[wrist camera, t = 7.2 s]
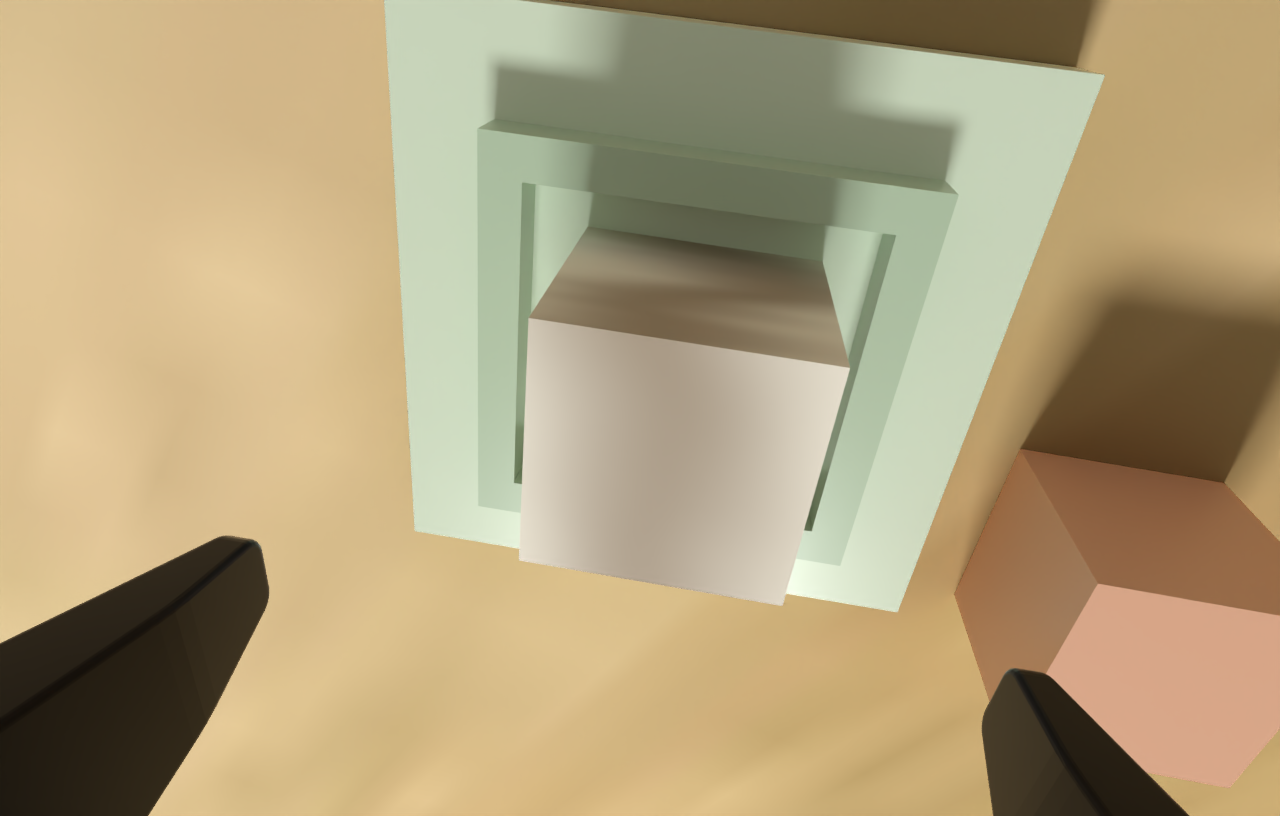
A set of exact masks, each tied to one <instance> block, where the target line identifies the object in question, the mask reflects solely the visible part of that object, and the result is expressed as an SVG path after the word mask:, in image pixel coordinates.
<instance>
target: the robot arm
mask: <svg viewBox="0 0 1280 816" xmlns="http://www.w3.org/2000/svg"><path fill="white" fill-rule="evenodd" d="M268 598H269V585H268V580H267V575H266V569H265V564H264V559H263V554H262V549H261V546H260V545H259V544H258V542H257V541H254V540H252V539H246V538H240V537H234V536H221V537H218V538H216V539H214V540H211V541H209V542H207V543H205V544H203V545H201V546H199V547H197V548H195V549H193V550H191V551H189V552H187V553H185V554H183V555H181V556H179V557H177V558H174V559H172V560H170V561H168V562H166V563H164V564H162V565H160V566H158V567H156V568H154V569H152V570H150V571H148V572H146V573H144V574H142V575H140V576H138V577H135V578H133V579H131V580H129V581H127V582H125V583H123V584H121V585H119V586H117V587H115V588H113V589H111V590H109V591H107V592H105V593H103V594H101V595H98V596H96V597H94V598H92V599H90V600H88V601H86V602H84V603H82V604H80V605H78V606H76V607H74V608H72V609H70V610H68V611H66V612H64V613H62V614H59V615H57V616H55V617H53V618H51V619H49V620H47V621H45V622H43V623H41V624H39V625H37V626H35V627H33V628H31V629H29V630H27V631H25V632H22V633H20V634H18V635H16V636H14V637H12V638H10V639H8V640H6V641H4V642H2V643H0V816H148V815H149V814H150V812H151V811H152V809H153V807H154V806H155V804H156V803H157V801H158V800H159V798H160V796H161V795H162V793H163V792H164V790H165V789H166V787H167V786H168V784H169V782H170V781H171V779H172V778H173V776H174V775H175V773H176V772H177V770H178V768H179V767H180V765H181V764H182V762H183V761H184V759H185V757H186V756H187V754H188V753H189V751H190V750H191V748H192V747H193V745H194V743H195V742H196V740H197V739H198V737H199V735H200V734H201V732H202V730H203V729H204V727H205V725H206V724H207V722H208V720H209V718H210V717H211V715H212V713H213V711H214V709H215V707H216V706H217V704H218V702H219V700H220V698H221V696H222V694H223V692H224V690H225V688H226V686H227V684H228V682H229V680H230V678H231V676H232V674H233V672H234V670H235V668H236V666H237V664H238V662H239V660H240V658H241V656H242V654H243V652H244V650H245V648H246V646H247V644H248V642H249V640H250V639H251V637H252V635H253V633H254V631H255V629H256V627H257V625H258V623H259V621H260V619H261V617H262V615H263V613H264V611H265V609H266V606H267V603H268ZM982 737H983V744H984V752H985V759H986V766H987V774H988V781H989V788H990V796H991V803H992V810H993V816H1189V815H1188V814H1187V813H1186V812H1185V811H1184V810H1183V809H1182V808H1181V807H1180V806H1179V805H1178V804H1177V803H1176V802H1175V801H1174V800H1173V799H1172V798H1171V797H1170V796H1169V795H1168V794H1167V793H1166V792H1165V791H1164V790H1163V789H1162V788H1161V787H1160V786H1159V785H1158V784H1157V783H1156V782H1155V781H1154V780H1153V779H1152V778H1151V777H1150V776H1149V775H1148V774H1147V773H1146V772H1145V771H1144V770H1143V769H1142V768H1141V767H1140V766H1139V765H1138V764H1137V762H1136V761H1135V760H1134V759H1133V758H1132V757H1131V756H1130V755H1129V754H1128V753H1127V752H1126V751H1125V750H1124V749H1123V748H1122V747H1121V746H1120V745H1119V744H1118V743H1117V742H1116V741H1115V740H1114V739H1113V738H1112V737H1111V736H1110V735H1109V734H1108V733H1107V732H1106V731H1105V730H1104V729H1103V728H1102V727H1101V726H1100V725H1099V724H1098V723H1097V722H1096V721H1095V720H1094V719H1093V718H1092V717H1091V716H1090V715H1089V714H1088V713H1087V712H1086V711H1085V710H1084V709H1083V708H1082V707H1081V706H1080V705H1079V704H1078V703H1077V702H1076V701H1075V700H1074V699H1073V698H1072V697H1071V696H1070V695H1069V694H1068V693H1067V692H1066V691H1065V690H1064V689H1063V688H1062V687H1061V686H1060V685H1059V684H1058V683H1057V682H1056V681H1055V680H1054V679H1053V678H1051V677H1050V676H1049V675H1047V674H1045V673H1042V672H1037V671H1031V670H1025V669H1019V668H1011V669H1009V670H1008V671H1006V672H1005V674H1004V675H1003V677H1002V679H1001V681H1000V683H999V685H998V687H997V688H996V690H995V692H994V694H993V696H992V698H991V700H990V702H989V704H988V706H987V708H986V710H985V712H984V716H983V720H982Z"/></svg>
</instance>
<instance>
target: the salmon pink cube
mask: <svg viewBox="0 0 1280 816" xmlns="http://www.w3.org/2000/svg"><path fill="white" fill-rule="evenodd" d="M954 595H955V598H956V601H957V604H958V607H959V610H960V613H961V616H962V619H963V622H964V625H965V628H966V631H967V634H968V637H969V640H970V643H971V646H972V649H973V652H974V655H975V658H976V661H977V664H978V667H979V670H980V673H981V677H982V680H983V683H984V686H985V689H986V692H987V695H988V698H989V701H990V700H991V698H992V696H993V694H994V692H995V690H996V688H997V687H998V685H999V683H1000V681H1001V679H1002V677H1003V675H1004V674H1005V672H1006V671H1008V670H1009V669H1011V668H1019V669H1025V670H1031V671H1037V672H1042V673H1045V674H1047V675H1049V676H1050V677H1051V678H1053V679H1054V680H1055V681H1056V682H1057V683H1058V684H1059V685H1060V686H1061V687H1062V688H1063V689H1064V690H1065V691H1066V692H1067V693H1068V694H1069V695H1070V696H1071V697H1072V698H1073V699H1074V700H1075V701H1076V702H1077V703H1078V704H1079V705H1080V706H1081V707H1082V708H1083V709H1084V710H1085V711H1086V712H1087V713H1088V714H1089V715H1090V716H1091V717H1092V718H1093V719H1094V720H1095V721H1096V722H1097V723H1098V724H1099V725H1100V726H1101V727H1102V728H1103V729H1104V730H1105V731H1106V732H1107V733H1108V734H1109V735H1110V736H1111V737H1112V738H1113V739H1114V740H1115V741H1116V742H1117V743H1118V744H1119V745H1120V746H1121V747H1122V748H1123V749H1124V750H1125V751H1126V752H1127V753H1128V754H1129V755H1130V756H1131V757H1132V758H1133V759H1134V760H1135V761H1136V762H1137V764H1138V765H1139V766H1140V767H1141V768H1142V769H1143V770H1144V771H1145V772H1146V773H1152V774H1157V775H1162V776H1167V777H1173V778H1178V779H1183V780H1189V781H1194V782H1199V783H1205V784H1210V785H1215V786H1221V787H1226V788H1230V787H1231V785H1232V784H1233V783H1234V782H1235V781H1236V780H1237V778H1238V777H1239V776H1240V775H1241V774H1242V772H1243V771H1244V770H1245V769H1246V768H1247V767H1248V765H1249V764H1250V763H1251V762H1252V761H1253V760H1254V758H1255V757H1256V756H1257V755H1258V754H1259V753H1260V751H1261V750H1262V749H1263V748H1264V747H1265V745H1266V744H1267V743H1268V742H1269V741H1270V740H1271V738H1272V737H1273V736H1274V735H1275V734H1276V733H1277V731H1278V730H1279V729H1280V542H1279V541H1278V539H1277V538H1276V537H1275V536H1274V535H1273V534H1272V533H1271V532H1270V531H1269V530H1268V529H1267V528H1266V527H1265V526H1264V525H1263V524H1262V523H1261V521H1260V520H1259V519H1258V518H1257V517H1256V516H1255V515H1254V514H1253V513H1252V512H1251V511H1250V510H1249V509H1248V508H1247V507H1246V506H1245V505H1244V503H1243V502H1242V501H1241V500H1240V499H1239V498H1238V497H1237V496H1236V495H1235V494H1234V493H1233V492H1232V491H1231V490H1230V489H1229V488H1228V487H1227V485H1226V484H1225V483H1222V482H1216V481H1210V480H1204V479H1198V478H1192V477H1186V476H1180V475H1174V474H1168V473H1162V472H1156V471H1150V470H1144V469H1138V468H1132V467H1126V466H1120V465H1114V464H1108V463H1102V462H1096V461H1091V460H1085V459H1079V458H1073V457H1067V456H1061V455H1055V454H1049V453H1043V452H1037V451H1031V450H1025V449H1020V450H1019V452H1018V455H1017V457H1016V459H1015V461H1014V463H1013V466H1012V468H1011V470H1010V472H1009V475H1008V477H1007V479H1006V481H1005V483H1004V486H1003V488H1002V490H1001V492H1000V494H999V497H998V499H997V501H996V503H995V505H994V508H993V510H992V512H991V514H990V516H989V519H988V521H987V523H986V525H985V528H984V530H983V532H982V534H981V536H980V539H979V541H978V543H977V545H976V547H975V550H974V552H973V554H972V556H971V558H970V561H969V563H968V565H967V567H966V569H965V572H964V574H963V576H962V578H961V581H960V583H959V585H958V587H957V589H956V592H955V594H954Z"/></svg>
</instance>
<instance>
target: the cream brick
mask: <svg viewBox="0 0 1280 816" xmlns="http://www.w3.org/2000/svg"><path fill="white" fill-rule="evenodd" d="M849 370H850V365H849V361H848V358H847V354H846V350H845V346H844V342H843V338H842V335H841V331H840V327H839V323H838V319H837V315H836V311H835V308H834V304H833V300H832V296H831V292H830V288H829V284H828V281H827V277H826V273H825V269H824V265H823V261H816V260H809V259H802V258H796V257H789V256H782V255H776V254H769V253H762V252H755V251H749V250H742V249H735V248H728V247H722V246H715V245H708V244H702V243H695V242H688V241H681V240H675V239H668V238H661V237H655V236H648V235H641V234H634V233H628V232H621V231H614V230H608V229H601V228H594V227H587V229H586V230H585V232H584V233H583V235H582V236H581V238H580V239H579V241H578V242H577V244H576V246H575V247H574V249H573V250H572V252H571V253H570V255H569V256H568V258H567V259H566V261H565V262H564V264H563V266H562V267H561V269H560V270H559V272H558V273H557V275H556V276H555V278H554V279H553V281H552V282H551V284H550V286H549V287H548V289H547V290H546V292H545V293H544V295H543V296H542V298H541V299H540V301H539V302H538V304H537V306H536V307H535V309H534V310H533V312H532V313H531V315H530V316H529V318H528V343H527V368H526V394H525V419H524V444H523V469H522V494H521V519H520V544H519V560H520V561H526V562H531V563H537V564H543V565H549V566H554V567H560V568H566V569H572V570H578V571H583V572H589V573H595V574H601V575H606V576H612V577H618V578H624V579H629V580H635V581H641V582H647V583H653V584H658V585H664V586H670V587H676V588H681V589H687V590H693V591H699V592H705V593H710V594H716V595H722V596H728V597H733V598H739V599H745V600H751V601H756V602H762V603H768V604H774V605H780V606H782V605H783V602H784V598H785V595H786V591H787V588H788V584H789V581H790V577H791V574H792V570H793V567H794V563H795V560H796V556H797V553H798V549H799V546H800V542H801V539H802V535H803V532H804V528H805V525H806V521H807V518H808V514H809V511H810V507H811V504H812V500H813V497H814V493H815V490H816V486H817V483H818V479H819V476H820V472H821V469H822V465H823V462H824V458H825V455H826V451H827V448H828V444H829V441H830V437H831V434H832V430H833V427H834V423H835V420H836V416H837V413H838V409H839V406H840V402H841V399H842V395H843V391H844V388H845V384H846V381H847V377H848V374H849Z"/></svg>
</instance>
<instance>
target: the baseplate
mask: <svg viewBox="0 0 1280 816" xmlns="http://www.w3.org/2000/svg"><path fill="white" fill-rule="evenodd" d="M384 5H385V22H386V40H387V57H388V74H389V92H390V109H391V126H392V144H393V161H394V178H395V196H396V213H397V230H398V248H399V265H400V283H401V300H402V317H403V335H404V352H405V369H406V387H407V404H408V421H409V439H410V456H411V473H412V491H413V508H414V525H415V531H418V532H424V533H430V534H436V535H442V536H448V537H454V538H459V539H465V540H471V541H477V542H483V543H489V544H495V545H501V546H507V547H513V548H519V544H520V519H521V494H522V469H523V444H524V419H525V394H526V368H527V343H528V318H529V316H530V315H531V313H532V312H533V310H534V309H535V307H536V306H537V304H538V302H539V301H540V299H541V298H542V296H543V295H544V293H545V292H546V290H547V289H548V287H549V286H550V284H551V282H552V281H553V279H554V278H555V276H556V275H557V273H558V272H559V270H560V269H561V267H562V266H563V264H564V262H565V261H566V259H567V258H568V256H569V255H570V253H571V252H572V250H573V249H574V247H575V246H576V244H577V242H578V241H579V239H580V238H581V236H582V235H583V233H584V232H585V230H586V229H587V227H594V228H601V229H608V230H614V231H621V232H628V233H634V234H641V235H648V236H655V237H661V238H668V239H675V240H681V241H688V242H695V243H702V244H708V245H715V246H722V247H728V248H735V249H742V250H749V251H755V252H762V253H769V254H776V255H782V256H789V257H796V258H802V259H809V260H816V261H823V265H824V269H825V273H826V277H827V281H828V284H829V288H830V292H831V296H832V300H833V304H834V308H835V311H836V315H837V319H838V323H839V327H840V331H841V335H842V338H843V342H844V346H845V350H846V354H847V358H848V361H849V365H850V370H849V374H848V377H847V381H846V384H845V388H844V391H843V395H842V399H841V402H840V406H839V409H838V413H837V416H836V420H835V423H834V427H833V430H832V434H831V437H830V441H829V444H828V448H827V451H826V455H825V458H824V462H823V465H822V469H821V472H820V476H819V479H818V483H817V486H816V490H815V493H814V497H813V500H812V504H811V507H810V511H809V514H808V518H807V521H806V525H805V528H804V532H803V535H802V539H801V542H800V546H799V549H798V553H797V556H796V560H795V563H794V567H793V570H792V574H791V577H790V581H789V584H788V588H787V591H786V594H792V595H798V596H804V597H810V598H816V599H822V600H828V601H834V602H840V603H845V604H851V605H857V606H863V607H869V608H875V609H881V610H887V611H893V612H898V609H899V607H900V604H901V602H902V599H903V596H904V594H905V591H906V589H907V586H908V583H909V581H910V578H911V576H912V573H913V571H914V568H915V565H916V563H917V560H918V558H919V555H920V552H921V550H922V547H923V545H924V542H925V539H926V537H927V534H928V532H929V529H930V527H931V524H932V521H933V519H934V516H935V514H936V511H937V508H938V506H939V503H940V501H941V498H942V496H943V493H944V490H945V488H946V485H947V483H948V480H949V477H950V475H951V472H952V470H953V467H954V464H955V462H956V459H957V457H958V454H959V452H960V449H961V446H962V444H963V441H964V439H965V436H966V433H967V431H968V428H969V426H970V423H971V421H972V418H973V415H974V413H975V410H976V408H977V405H978V402H979V400H980V397H981V395H982V392H983V389H984V387H985V384H986V382H987V379H988V377H989V374H990V371H991V369H992V366H993V364H994V361H995V358H996V356H997V353H998V351H999V348H1000V346H1001V343H1002V340H1003V338H1004V335H1005V333H1006V330H1007V327H1008V325H1009V322H1010V320H1011V317H1012V314H1013V312H1014V309H1015V307H1016V304H1017V302H1018V299H1019V296H1020V294H1021V291H1022V289H1023V286H1024V283H1025V281H1026V278H1027V276H1028V273H1029V271H1030V268H1031V265H1032V263H1033V260H1034V258H1035V255H1036V252H1037V250H1038V247H1039V245H1040V242H1041V240H1042V237H1043V234H1044V232H1045V229H1046V227H1047V224H1048V221H1049V219H1050V216H1051V214H1052V211H1053V208H1054V206H1055V203H1056V201H1057V198H1058V196H1059V193H1060V190H1061V188H1062V185H1063V183H1064V180H1065V177H1066V175H1067V172H1068V170H1069V167H1070V165H1071V162H1072V159H1073V157H1074V154H1075V152H1076V149H1077V146H1078V144H1079V141H1080V139H1081V136H1082V133H1083V131H1084V128H1085V126H1086V123H1087V121H1088V118H1089V115H1090V113H1091V110H1092V108H1093V105H1094V102H1095V100H1096V97H1097V95H1098V92H1099V90H1100V87H1101V84H1102V82H1103V79H1104V77H1105V75H1103V74H1099V73H1096V72H1092V71H1088V70H1085V69H1081V68H1077V67H1070V66H1062V65H1054V64H1046V63H1038V62H1030V61H1023V60H1015V59H1007V58H999V57H991V56H983V55H975V54H968V53H960V52H952V51H944V50H936V49H928V48H920V47H913V46H905V45H897V44H889V43H881V42H873V41H865V40H858V39H850V38H842V37H834V36H826V35H818V34H810V33H803V32H795V31H787V30H779V29H771V28H763V27H756V26H748V25H740V24H732V23H724V22H716V21H708V20H701V19H693V18H685V17H677V16H669V15H661V14H653V13H646V12H638V11H630V10H622V9H614V8H606V7H598V6H591V5H583V4H575V3H567V2H559V1H551V0H384Z"/></svg>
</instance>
